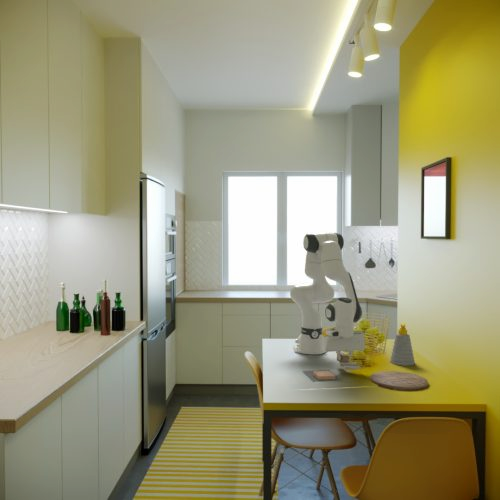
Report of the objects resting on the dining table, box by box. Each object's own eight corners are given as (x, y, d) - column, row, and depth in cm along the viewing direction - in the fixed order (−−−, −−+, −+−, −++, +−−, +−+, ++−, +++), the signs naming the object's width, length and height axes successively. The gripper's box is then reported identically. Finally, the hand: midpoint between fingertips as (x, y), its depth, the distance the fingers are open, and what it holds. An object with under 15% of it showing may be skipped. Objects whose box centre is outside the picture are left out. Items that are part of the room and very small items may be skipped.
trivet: (359, 377, 224) (359, 373, 224) (403, 373, 233) (403, 369, 233) (393, 393, 201) (393, 389, 201) (440, 388, 210) (440, 383, 210)
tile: (312, 371, 224) (318, 376, 216) (329, 370, 226) (335, 375, 218) (312, 375, 224) (318, 380, 216) (329, 374, 226) (335, 379, 218)
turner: (332, 360, 239) (332, 352, 239) (346, 360, 240) (346, 352, 240) (346, 369, 221) (346, 360, 221) (360, 368, 223) (360, 360, 223)
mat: (301, 372, 231) (301, 371, 231) (329, 370, 234) (329, 369, 234) (313, 382, 214) (313, 381, 214) (343, 381, 216) (343, 380, 216)
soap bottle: (389, 364, 248) (390, 325, 248) (390, 359, 260) (391, 321, 260) (414, 366, 244) (415, 326, 244) (414, 361, 256) (415, 323, 256)
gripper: (362, 329, 238) (361, 357, 239) (322, 330, 235) (322, 359, 235) (367, 332, 232) (367, 360, 232) (327, 333, 228) (326, 362, 229)
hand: (344, 359), depth 234 cm, fingers closed on turner, 3 cm apart
